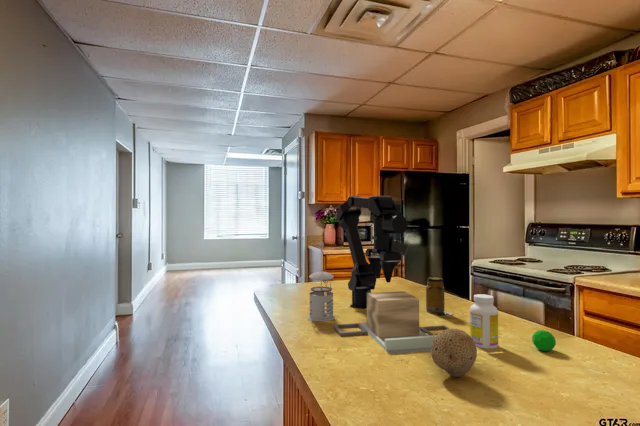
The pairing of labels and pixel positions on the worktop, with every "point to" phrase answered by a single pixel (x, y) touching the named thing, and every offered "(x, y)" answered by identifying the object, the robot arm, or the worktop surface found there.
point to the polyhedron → (543, 340)
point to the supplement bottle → (484, 322)
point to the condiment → (435, 297)
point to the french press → (321, 297)
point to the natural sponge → (454, 352)
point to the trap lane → (396, 338)
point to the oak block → (393, 314)
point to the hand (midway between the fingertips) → (383, 280)
